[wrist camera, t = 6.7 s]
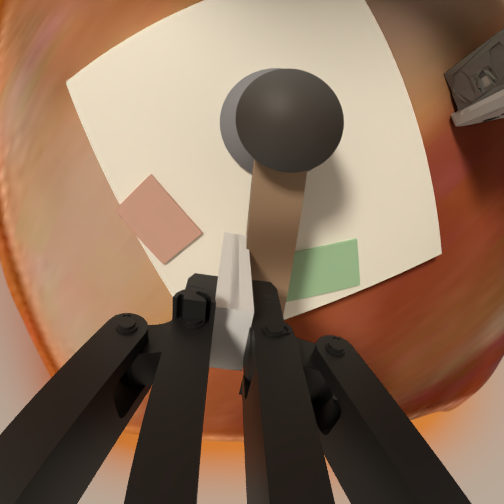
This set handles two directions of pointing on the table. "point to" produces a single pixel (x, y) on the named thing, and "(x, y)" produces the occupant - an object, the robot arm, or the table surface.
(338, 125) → the peg
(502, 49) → the electrical switch
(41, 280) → the table surface
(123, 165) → the tuner plate
